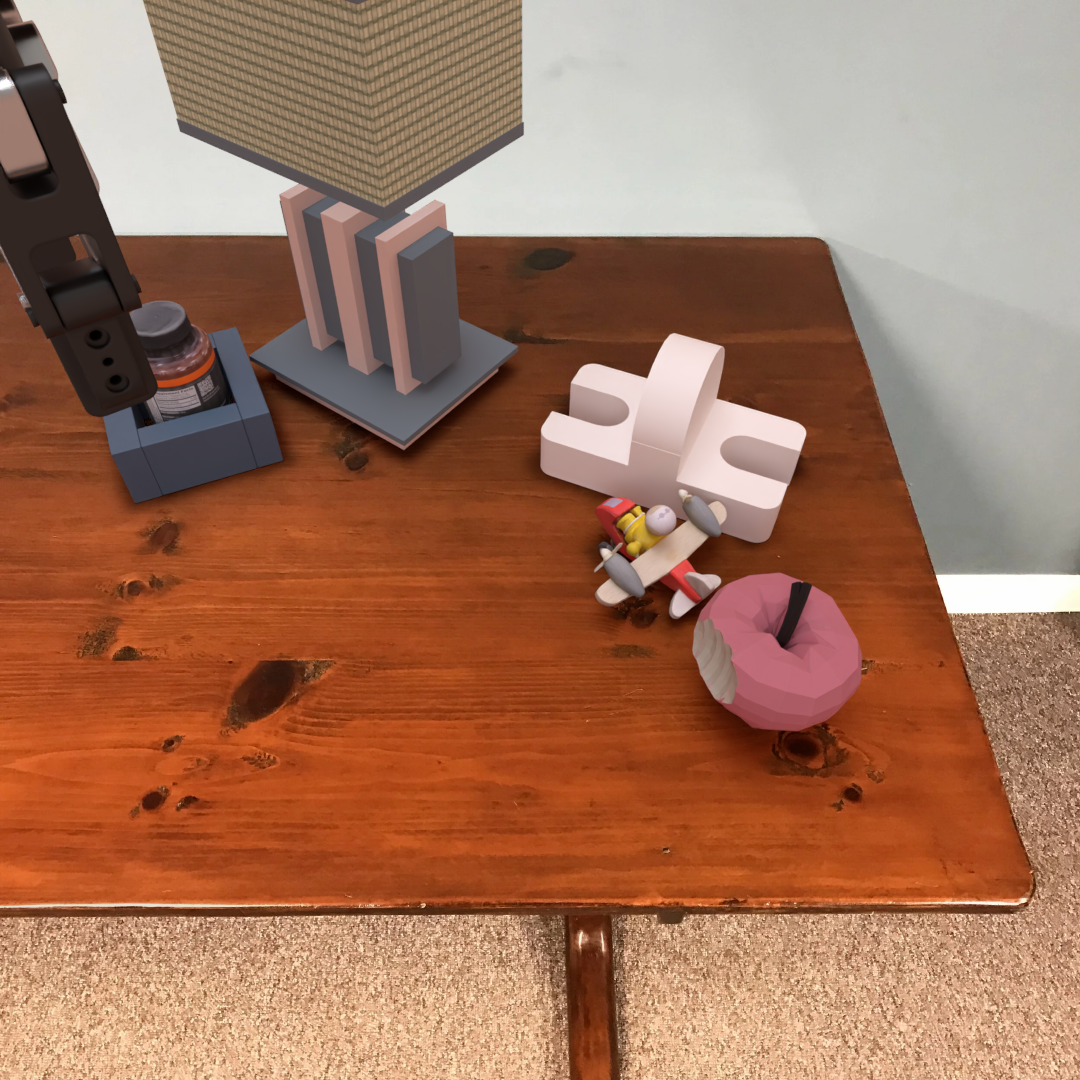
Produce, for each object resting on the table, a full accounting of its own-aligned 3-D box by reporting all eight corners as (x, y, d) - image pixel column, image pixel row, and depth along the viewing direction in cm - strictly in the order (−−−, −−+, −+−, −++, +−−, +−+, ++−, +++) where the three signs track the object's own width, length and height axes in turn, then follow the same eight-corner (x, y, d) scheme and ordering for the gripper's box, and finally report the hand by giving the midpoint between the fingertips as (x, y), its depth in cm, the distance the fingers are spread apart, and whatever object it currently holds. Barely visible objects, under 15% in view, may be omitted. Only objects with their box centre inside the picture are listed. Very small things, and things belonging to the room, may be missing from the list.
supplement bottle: (174, 409, 72) (127, 288, 63) (248, 411, 72) (210, 291, 63) (151, 462, 68) (97, 341, 60) (229, 464, 68) (187, 343, 59)
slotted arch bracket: (583, 395, 74) (590, 282, 66) (798, 460, 69) (835, 347, 61) (535, 470, 68) (536, 357, 60) (766, 547, 64) (802, 435, 55)
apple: (667, 649, 58) (689, 551, 50) (792, 626, 59) (832, 528, 52) (716, 785, 52) (749, 698, 44) (855, 757, 53) (910, 667, 46)
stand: (135, 504, 65) (110, 454, 62) (114, 411, 72) (91, 361, 68) (283, 460, 68) (269, 411, 65) (251, 375, 75) (236, 326, 71)
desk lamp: (525, 373, 75) (526, -82, 50) (415, 469, 68) (351, -10, 43) (366, 296, 82) (297, -139, 57) (249, 376, 75) (111, -85, 50)
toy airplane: (592, 524, 65) (598, 461, 60) (718, 532, 64) (734, 469, 60) (588, 628, 59) (594, 568, 54) (727, 637, 59) (745, 577, 54)
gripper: (-460, -374, 20) (-82, 266, 32) (-478, -272, 12) (22, 509, 25) (-93, -388, 23) (125, 206, 35) (71, -311, 15) (274, 409, 28)
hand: (82, 331), depth 30 cm, fingers open, 8 cm apart
